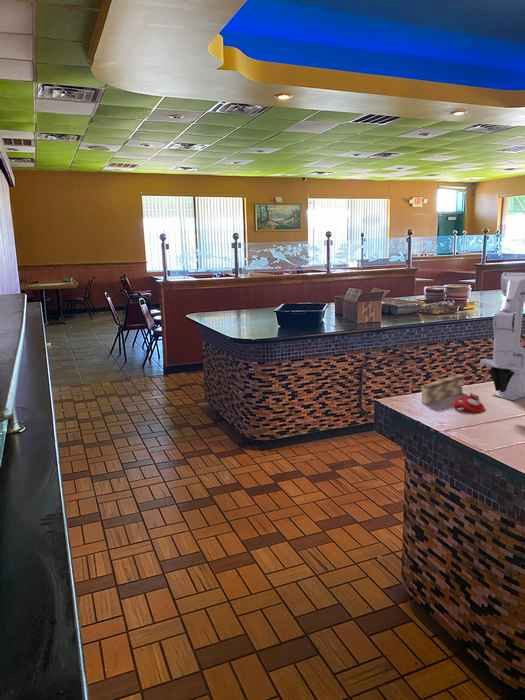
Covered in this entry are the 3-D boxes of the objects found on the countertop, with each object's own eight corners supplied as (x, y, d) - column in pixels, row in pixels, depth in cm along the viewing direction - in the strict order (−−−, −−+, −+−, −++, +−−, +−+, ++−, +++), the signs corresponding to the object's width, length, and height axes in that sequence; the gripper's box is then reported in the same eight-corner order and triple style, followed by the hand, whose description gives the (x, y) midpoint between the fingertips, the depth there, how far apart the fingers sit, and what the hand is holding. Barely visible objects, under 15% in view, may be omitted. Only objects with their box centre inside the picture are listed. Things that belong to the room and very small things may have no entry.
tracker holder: (489, 410, 175) (459, 404, 175) (484, 421, 177) (455, 415, 177) (480, 391, 185) (452, 385, 186) (475, 402, 187) (448, 396, 188)
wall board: (457, 391, 198) (458, 373, 196) (464, 393, 196) (464, 375, 194) (421, 402, 187) (422, 384, 186) (428, 404, 185) (428, 386, 183)
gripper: (475, 347, 171) (473, 388, 174) (517, 356, 159) (514, 398, 163) (488, 344, 175) (486, 383, 178) (530, 352, 163) (527, 394, 166)
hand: (500, 390), depth 171 cm, fingers closed
